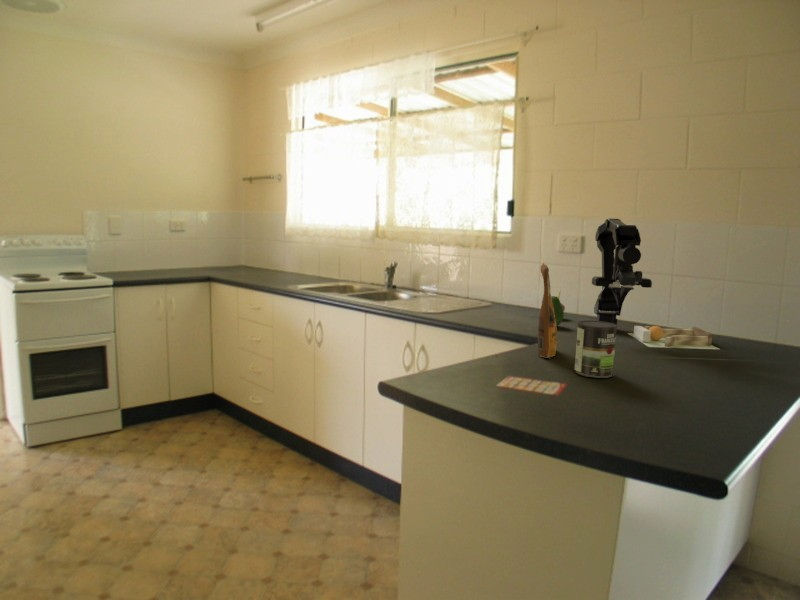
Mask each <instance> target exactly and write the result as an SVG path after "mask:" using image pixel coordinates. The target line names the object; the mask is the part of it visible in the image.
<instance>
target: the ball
mask: <svg viewBox="0 0 800 600" xmlns="http://www.w3.org/2000/svg"><path fill="white" fill-rule="evenodd" d="M650 327H651V328H649V331H651V334H650V339H652V340H659V339H661V338H662V337H663V330H662V329H663V328H662V327H660V326H658V325H653V326H650ZM661 328H662V329H661Z"/></svg>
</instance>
